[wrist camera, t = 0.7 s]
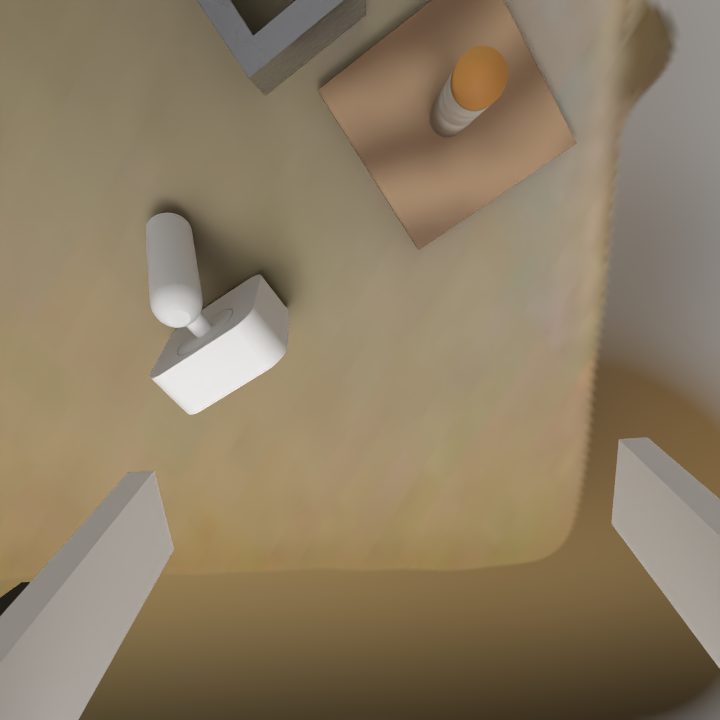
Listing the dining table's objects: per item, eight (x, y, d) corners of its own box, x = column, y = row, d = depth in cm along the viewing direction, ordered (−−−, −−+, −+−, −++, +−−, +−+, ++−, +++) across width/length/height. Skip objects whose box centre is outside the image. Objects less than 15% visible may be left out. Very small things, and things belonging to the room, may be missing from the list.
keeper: (319, 94, 32) (292, 37, 21) (478, -31, 30) (537, -165, 19) (417, 248, 35) (436, 266, 24) (569, 145, 32) (665, 115, 22)
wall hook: (202, 180, 33) (165, 212, 25) (291, 296, 38) (287, 358, 29) (114, 244, 35) (50, 296, 26) (210, 348, 39) (183, 422, 31)
